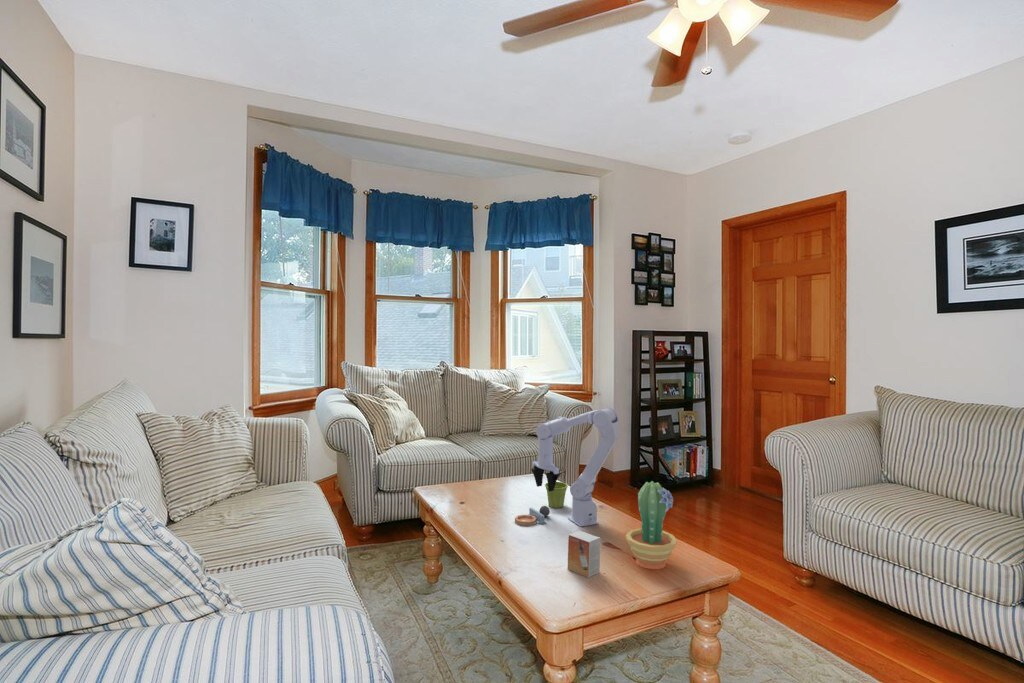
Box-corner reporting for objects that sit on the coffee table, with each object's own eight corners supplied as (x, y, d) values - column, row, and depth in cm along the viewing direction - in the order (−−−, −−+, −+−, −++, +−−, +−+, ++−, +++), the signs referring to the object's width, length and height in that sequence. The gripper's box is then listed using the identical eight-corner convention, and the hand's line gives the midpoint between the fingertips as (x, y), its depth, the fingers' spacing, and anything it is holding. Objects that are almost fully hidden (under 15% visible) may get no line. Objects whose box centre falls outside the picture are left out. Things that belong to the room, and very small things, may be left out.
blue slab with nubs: (546, 523, 197) (546, 515, 197) (540, 524, 196) (540, 516, 196) (533, 515, 206) (533, 507, 206) (527, 515, 205) (527, 508, 205)
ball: (551, 517, 204) (551, 506, 204) (542, 518, 202) (542, 508, 202) (546, 513, 208) (546, 503, 208) (537, 515, 206) (537, 505, 206)
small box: (567, 569, 159) (567, 534, 159) (578, 563, 163) (579, 529, 163) (588, 578, 153) (589, 542, 153) (600, 572, 157) (600, 537, 157)
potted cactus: (641, 576, 154) (642, 491, 154) (616, 555, 169) (617, 477, 169) (687, 570, 159) (688, 487, 158) (659, 550, 174) (660, 474, 173)
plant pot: (568, 509, 213) (568, 488, 213) (545, 509, 213) (545, 487, 213) (566, 502, 222) (566, 481, 222) (544, 502, 222) (544, 481, 222)
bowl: (539, 523, 197) (539, 520, 197) (521, 526, 193) (521, 523, 193) (529, 517, 204) (529, 513, 204) (512, 520, 200) (512, 516, 200)
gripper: (565, 456, 204) (565, 491, 204) (542, 449, 216) (541, 482, 216) (550, 458, 200) (550, 494, 200) (528, 451, 212) (527, 485, 212)
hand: (545, 488), depth 208 cm, fingers open, 7 cm apart
